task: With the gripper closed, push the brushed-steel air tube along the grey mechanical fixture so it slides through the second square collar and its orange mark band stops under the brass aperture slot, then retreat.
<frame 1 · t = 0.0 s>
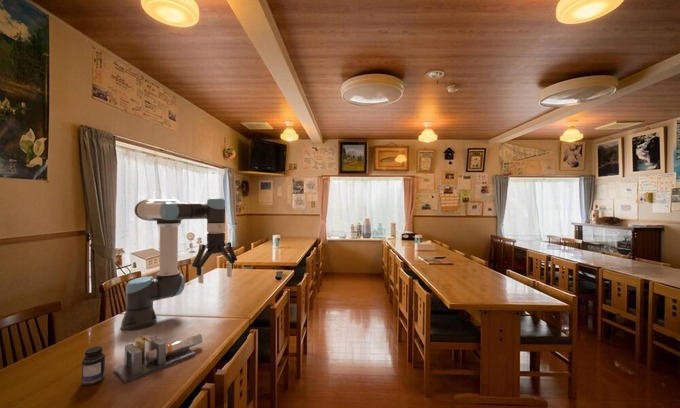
hand: (215, 279, 132), 28 cm above the table, fingers open, 13 cm apart
air tube: (175, 347, 119), point 3 cm above the table, slide at 0.0 cm
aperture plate: (145, 367, 111), resting on grey mechanical fixture
pill bottle: (93, 381, 102), on the table
grey mechanical fixture: (156, 363, 114), on the table
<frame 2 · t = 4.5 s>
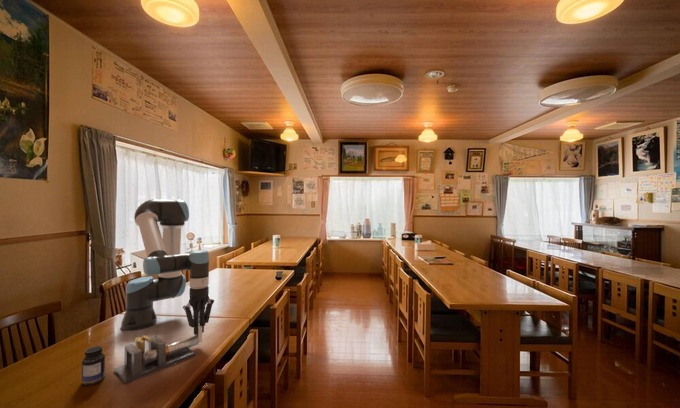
hand: (198, 341, 127), 3 cm above the table, fingers closed
air tube: (172, 348, 118), point 4 cm above the table, slide at 1.3 cm, touching gripper
everything else where it was.
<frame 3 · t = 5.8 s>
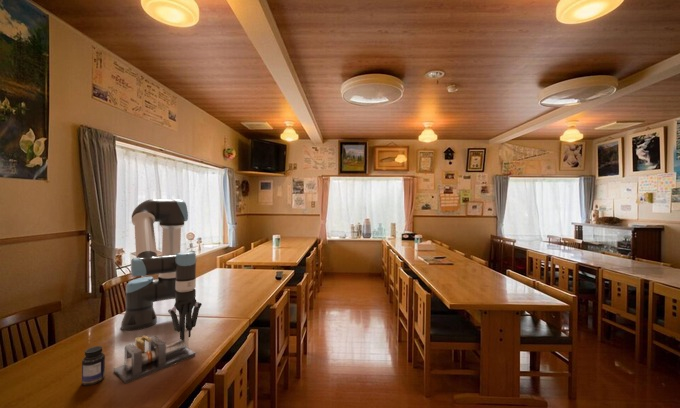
hand: (185, 346, 122), 3 cm above the table, fingers closed
air tube: (156, 354, 114), point 3 cm above the table, slide at 7.0 cm, touching gripper
everything else where it was.
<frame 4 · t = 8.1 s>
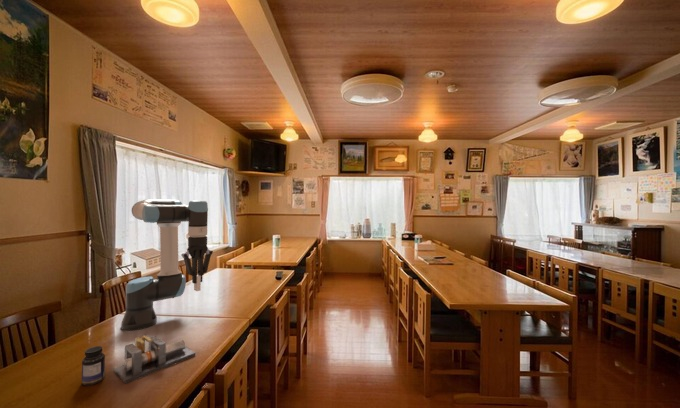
hand: (197, 290, 127), 24 cm above the table, fingers closed
air tube: (156, 354, 114), point 3 cm above the table, slide at 7.2 cm
everything else where it was.
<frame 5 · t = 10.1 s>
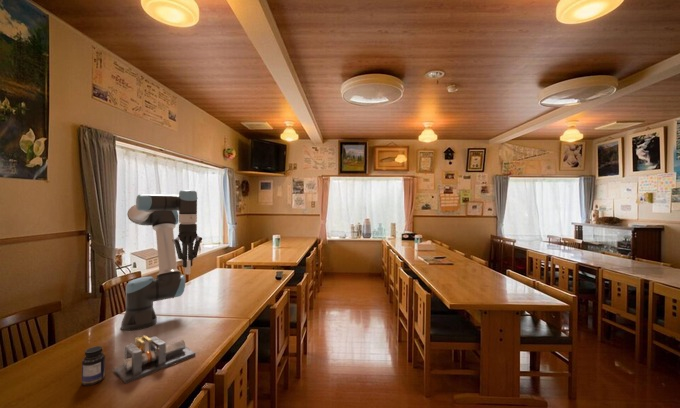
hand: (187, 273, 137), 29 cm above the table, fingers closed
nothing on the table moved.
at the end: air tube slide at 7.2 cm; the gripper is holding nothing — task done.
